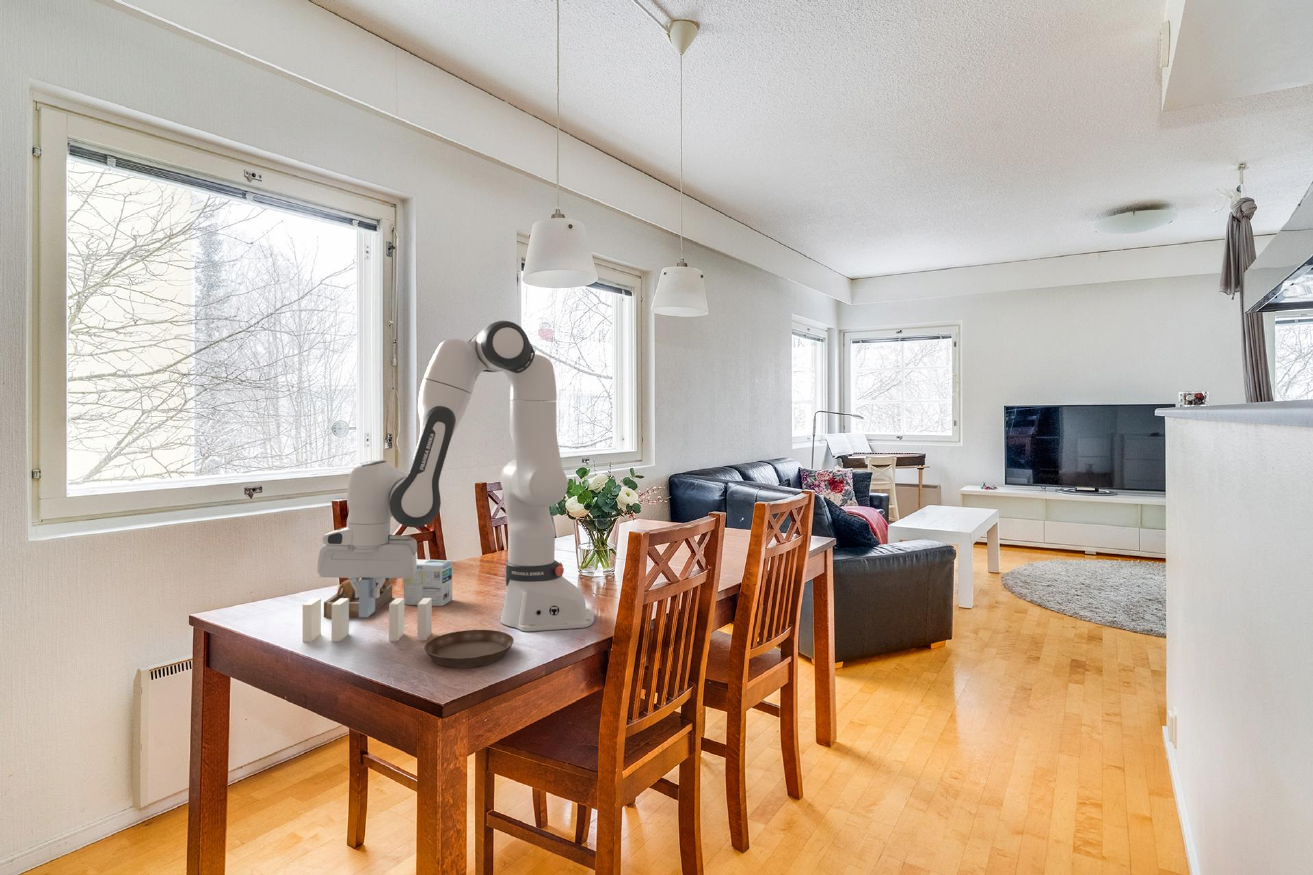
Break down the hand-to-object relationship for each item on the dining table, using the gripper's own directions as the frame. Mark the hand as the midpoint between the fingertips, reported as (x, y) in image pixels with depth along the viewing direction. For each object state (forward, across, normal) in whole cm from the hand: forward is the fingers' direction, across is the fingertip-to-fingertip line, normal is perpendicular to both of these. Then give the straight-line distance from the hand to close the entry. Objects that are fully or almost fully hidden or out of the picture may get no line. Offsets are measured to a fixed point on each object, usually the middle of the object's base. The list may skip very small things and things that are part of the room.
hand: (367, 597), depth 149 cm
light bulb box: (+9, -6, -28) cm, 30 cm away
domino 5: (+9, -12, 0) cm, 15 cm away
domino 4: (+9, -6, 0) cm, 11 cm away
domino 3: (+4, 0, 0) cm, 4 cm away
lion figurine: (+8, +9, -24) cm, 27 cm away
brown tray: (+9, +10, -24) cm, 27 cm away
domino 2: (+9, +6, 0) cm, 11 cm away
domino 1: (+9, +12, 0) cm, 15 cm away
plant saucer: (+9, -24, +12) cm, 29 cm away
